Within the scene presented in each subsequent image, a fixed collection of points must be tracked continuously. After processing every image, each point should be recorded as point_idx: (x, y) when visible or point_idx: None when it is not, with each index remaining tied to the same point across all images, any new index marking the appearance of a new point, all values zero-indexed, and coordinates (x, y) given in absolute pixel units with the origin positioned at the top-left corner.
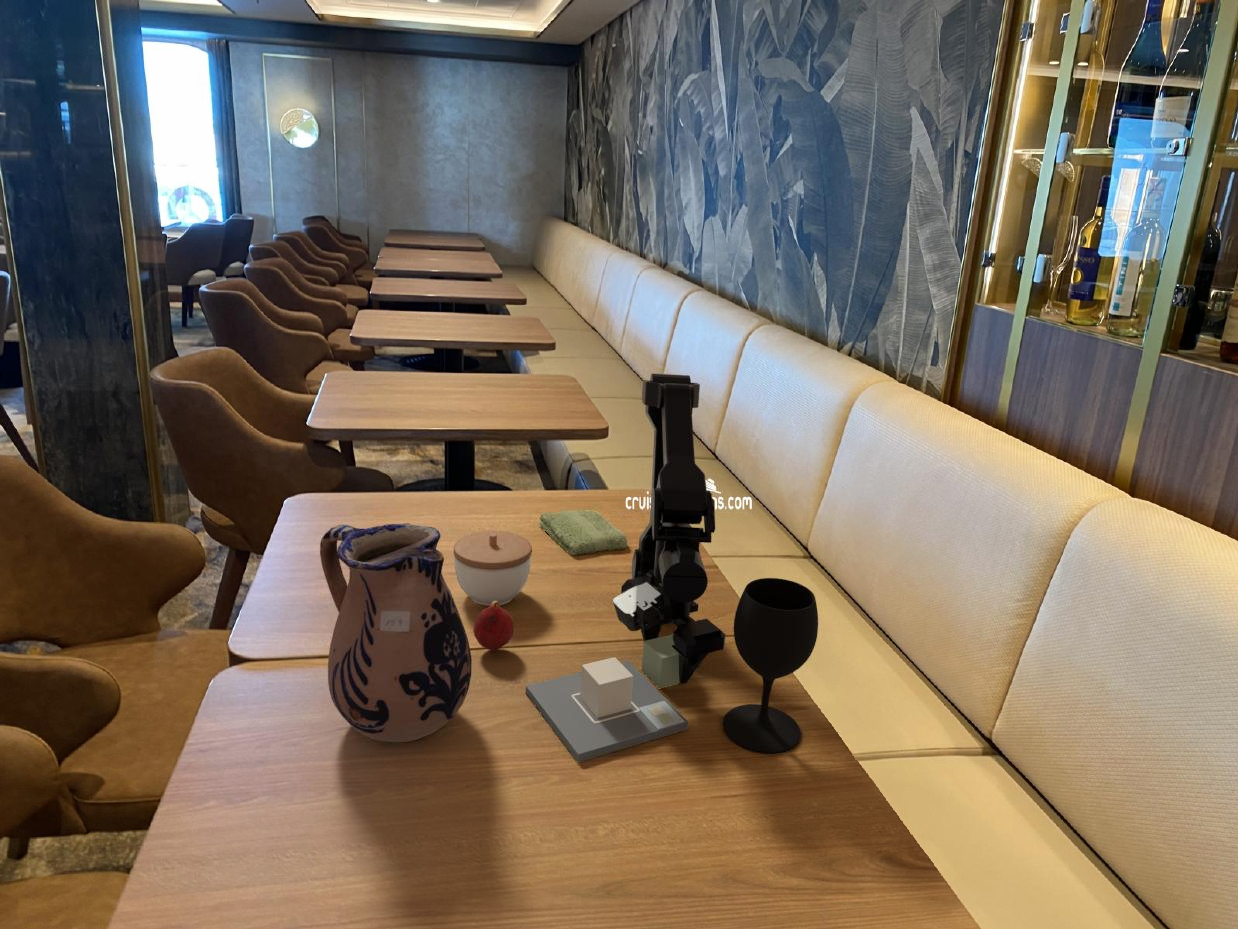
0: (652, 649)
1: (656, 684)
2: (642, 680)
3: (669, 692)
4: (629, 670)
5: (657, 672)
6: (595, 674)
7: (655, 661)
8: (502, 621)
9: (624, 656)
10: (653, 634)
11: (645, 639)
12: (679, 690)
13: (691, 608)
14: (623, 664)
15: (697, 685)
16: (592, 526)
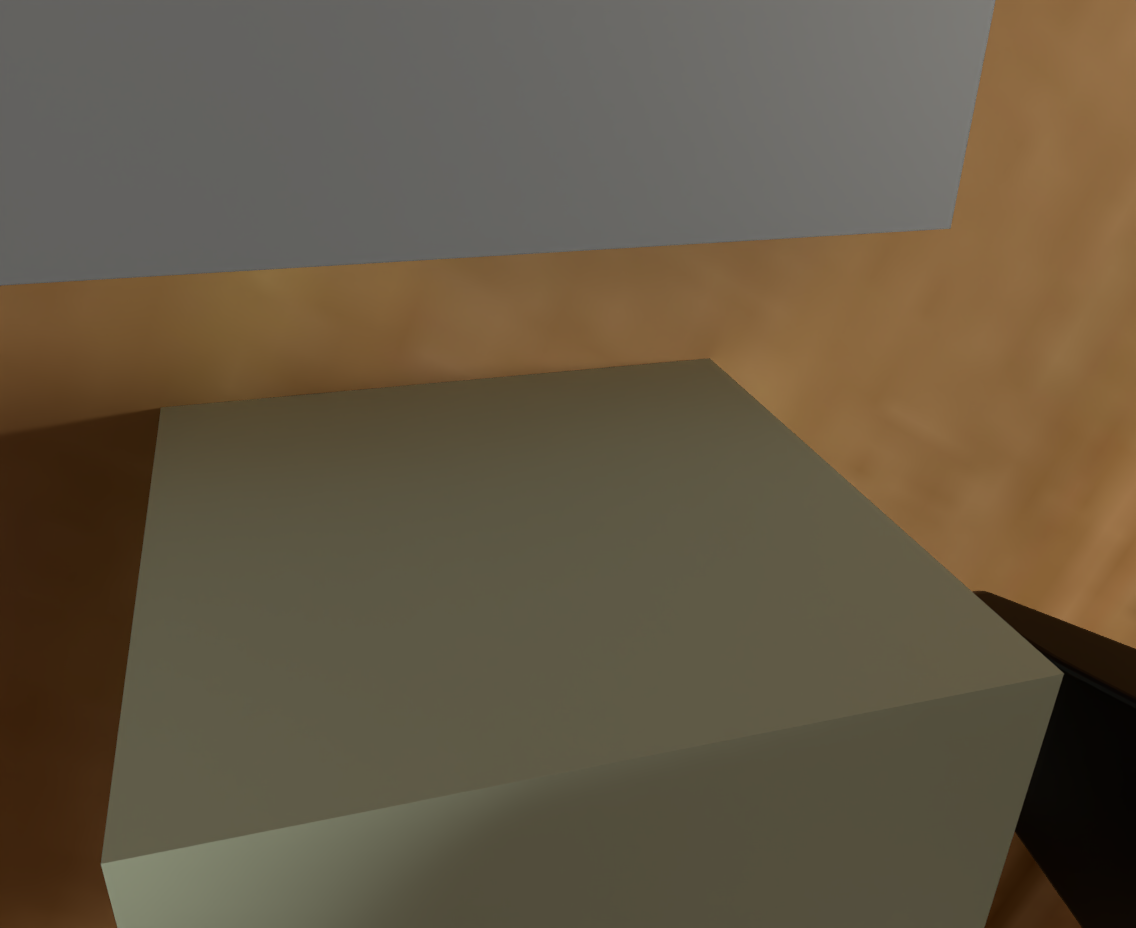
0: (665, 751)
1: (260, 410)
2: (290, 172)
3: (17, 517)
4: (700, 98)
5: (273, 526)
6: None
7: (418, 625)
8: None
9: (1092, 293)
10: (1128, 864)
11: (1123, 695)
12: (37, 667)
13: None
14: (902, 87)
15: (102, 897)
16: None
